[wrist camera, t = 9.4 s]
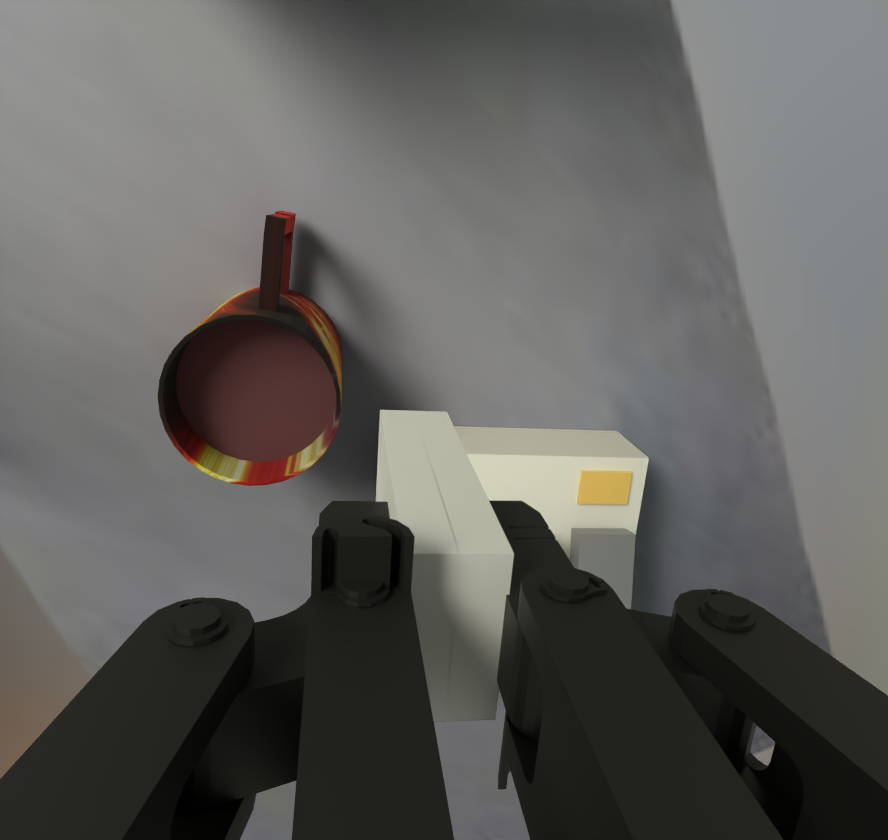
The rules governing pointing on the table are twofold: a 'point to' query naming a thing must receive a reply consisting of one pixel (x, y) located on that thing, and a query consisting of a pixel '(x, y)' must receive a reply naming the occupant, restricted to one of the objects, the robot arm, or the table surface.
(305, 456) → the mug
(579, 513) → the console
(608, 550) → the block
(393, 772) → the robot arm
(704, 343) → the table surface
